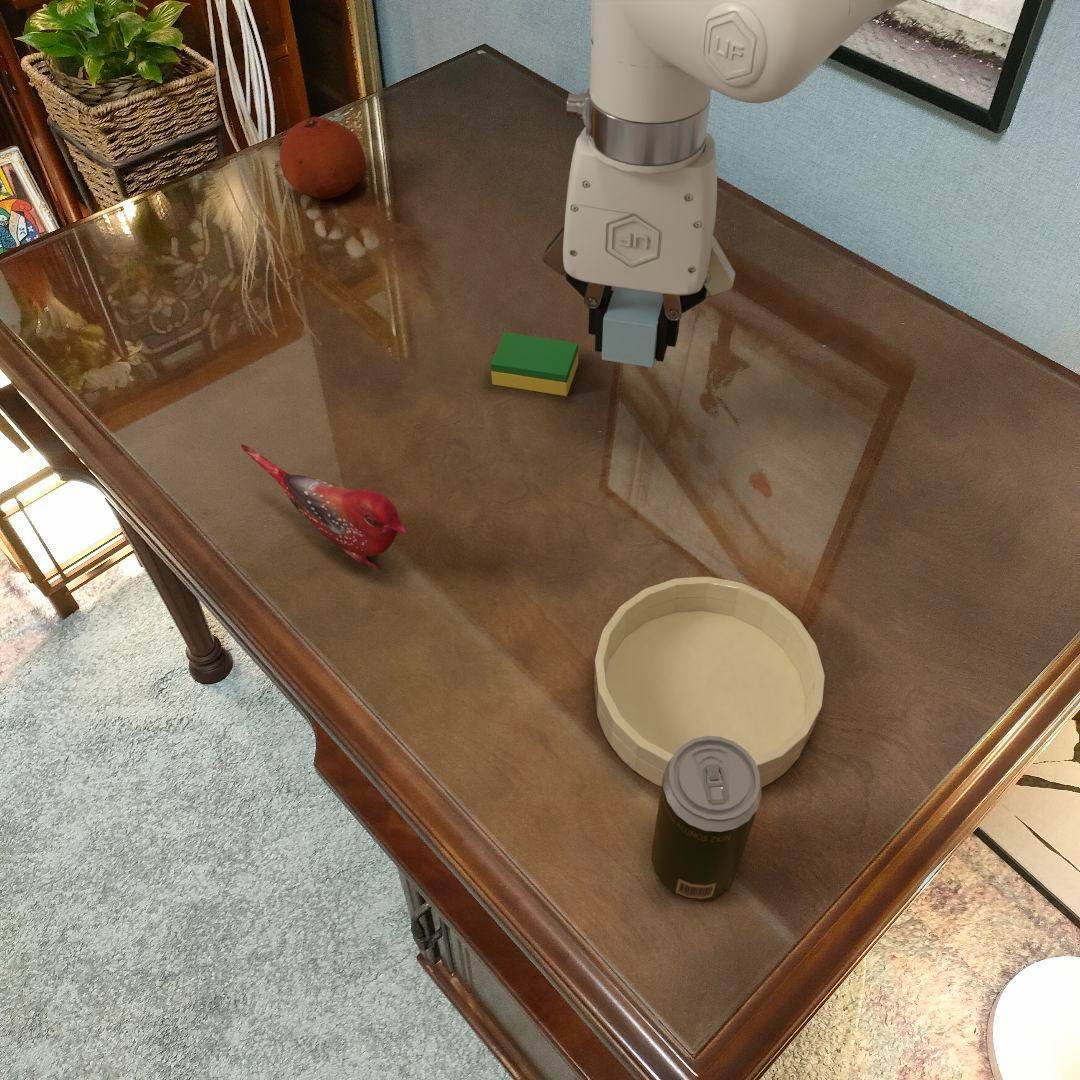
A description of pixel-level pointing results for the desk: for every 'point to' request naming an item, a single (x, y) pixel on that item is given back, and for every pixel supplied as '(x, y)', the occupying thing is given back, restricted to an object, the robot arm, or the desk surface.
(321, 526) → the decorative bird figurine
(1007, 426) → the desk surface
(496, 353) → the scrubber
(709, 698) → the bowl
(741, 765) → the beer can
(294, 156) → the fruit
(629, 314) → the ice cube
